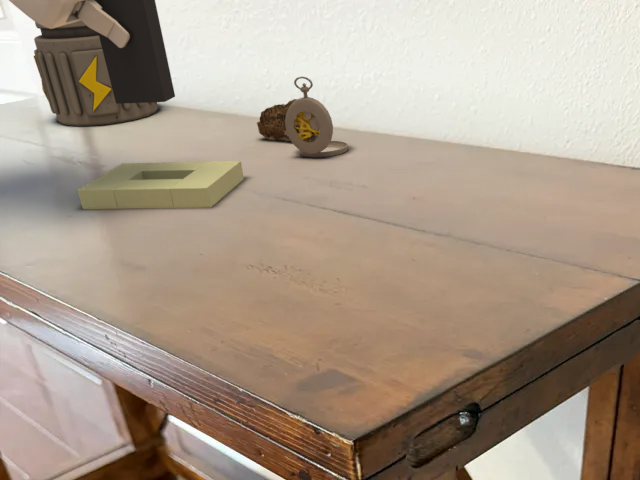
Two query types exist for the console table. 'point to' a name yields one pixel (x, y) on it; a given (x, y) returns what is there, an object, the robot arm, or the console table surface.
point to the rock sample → (275, 122)
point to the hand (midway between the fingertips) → (136, 39)
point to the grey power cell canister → (80, 78)
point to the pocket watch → (311, 126)
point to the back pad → (137, 54)
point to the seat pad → (162, 185)
